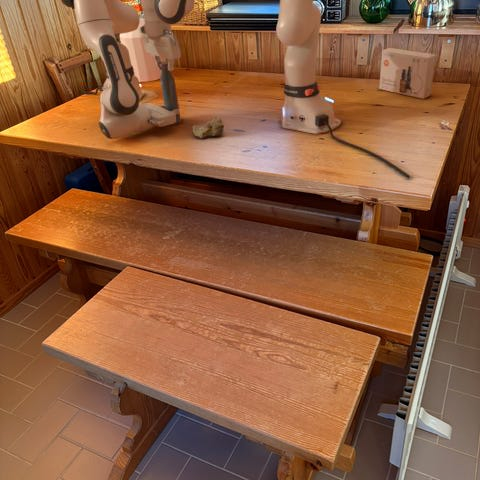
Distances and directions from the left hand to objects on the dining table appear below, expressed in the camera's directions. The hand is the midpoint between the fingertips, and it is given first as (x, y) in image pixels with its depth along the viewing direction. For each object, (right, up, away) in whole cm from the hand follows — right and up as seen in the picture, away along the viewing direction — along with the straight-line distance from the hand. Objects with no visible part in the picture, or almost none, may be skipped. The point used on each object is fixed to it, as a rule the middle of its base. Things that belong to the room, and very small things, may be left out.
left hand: (174, 108), depth 181 cm
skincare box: (+93, +9, +8) cm, 93 cm away
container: (-22, +35, +63) cm, 75 cm away
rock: (+14, -13, -11) cm, 22 cm away
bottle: (0, -5, +2) cm, 5 cm away
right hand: (-2, +12, -9) cm, 15 cm away
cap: (-2, +14, -10) cm, 17 cm away
